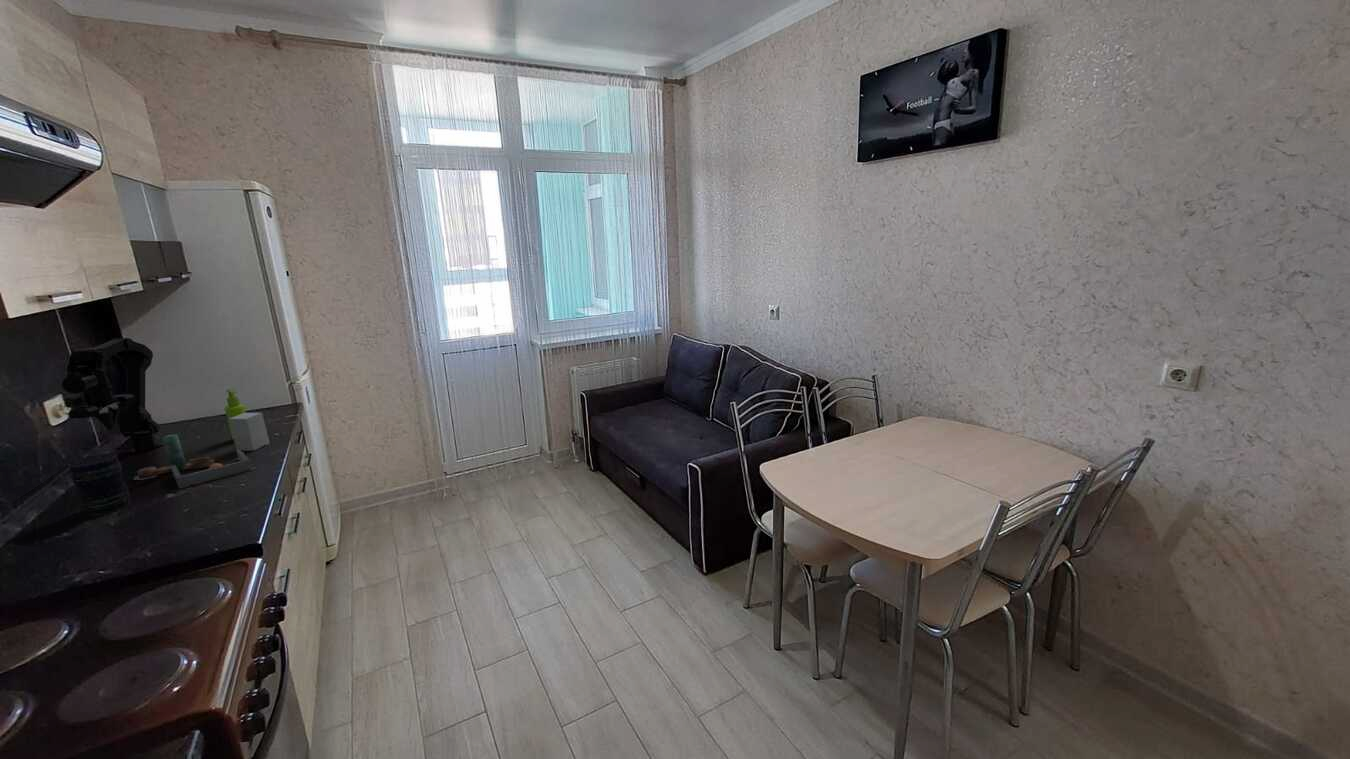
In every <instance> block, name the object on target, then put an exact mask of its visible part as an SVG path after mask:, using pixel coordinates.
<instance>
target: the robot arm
mask: <svg viewBox="0 0 1350 759" xmlns="http://www.w3.org/2000/svg"><path fill="white" fill-rule="evenodd" d="M112 356H115V357H116V358H118V359H119V360H120V364H121V365H122V366H123V368H124V369H125V370H126V394H116V395H114V394H113V391H114V390H115V386H111V384H110V382H109V379H108V376H107V372H106V371H107V370H108V369H109V367H108V366H106V365H105V364H106V363H108V361H109V358H111V357H112ZM153 357H154V353H153V351H152V350H151V348H150V347H148V346H147V345H145V344H144V343H143V344H142V343H140V342H137V341H134V340H133V339H132V338H130V337H129V338H128V337H120V338H119V337H118V338H112V339H110V340H109V341H107V342H104V343H102V344H99V345H97V346H94V347H91V348H82V349H81V348H79V349H75V350H73V351H72V352H71V353H70V355H69V360H68V365H67V370H66V376H67V377H65V378H64V379H63V380H62V382H61V387H62V389H63V390H64V391H65V392H67V393H68V394H72V395H74V394H75V395H77V394H80V393H81V396H79V397H78V396H77V397H75V396H69V397H66V398H64V399H63V402H64V406H65V407H67V409H68V408H69V409H70V410H69V411H68V412H67V413H68V417H69V419H71V420H72V419H87V418H89V419H90V418H96V419H97V421H99V422H101V424H102V425H103V426H104V427H105V428H106V429H107V430H108V431H112V430H114V429H115V426H116V423H118V426H117V427H118V429H119V431H120V432H121V434H122V436H123V437H124V438H127V437H130V439H131V444H132V448H133V449H132V450H130V453H131V452H133V453H138V452H137V451H148V452H151V451H153V450H152V449H154V450H155V448H156V447H158V446H160V444H161V445H162V446H163V443H158V440H157V437H156V433H157V434H158V433H159V432H160V424H159V423H157V422H156V421H155V420H154V419H152V418H153V417H152V414H151V412H149V411H148V410H147V409H146V371H147V370H148V369H149V367H150V366H151V365H152V362H153ZM122 403H126V408H125V410H123V408H124V406H119V405H118V404H122ZM71 408H72V409H71ZM122 410H123V411H122ZM117 421H118V422H117ZM160 447H161V446H160ZM158 448H159V447H158ZM156 449H157V448H156ZM150 450H151V451H150Z"/></svg>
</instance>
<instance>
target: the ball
mask: <svg viewBox="0 0 1350 759" xmlns="http://www.w3.org/2000/svg"><path fill="white" fill-rule="evenodd" d="M219 466H223V464H222V463H218V462H217V463H215V462H214V464H212V465H211V466H208V469H211V468H215V467H219Z"/></svg>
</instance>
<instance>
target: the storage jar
mask: <svg viewBox="0 0 1350 759" xmlns="http://www.w3.org/2000/svg"><path fill="white" fill-rule="evenodd" d="M119 461H120V460H119V459H118V454H117V453H115V452H113V453H112V452H111V453H108V452H107V453H100V454H94V455H90V456H86V457H82V458H78V459H76V460H73V461H71V462H70V463H68V465H67V466H68V470H69V472H70V477H71V479H72V482H73V484H74V485H75V486H76V490H77V492H78V500H79V504H80V506H81V507H82V510H83V514H84V515H85V516H100V515H105V514H108V513H109V514H110V513H113V512H116V511H120V509H124V508H125V506H126V507H128V506H129V505H131V504H132V499H131V498H130V491H129V489H128V485H127V483H125V480H124V478H123V474H122V473H123V469H122V466H121V462H119ZM128 504H129V505H128Z"/></svg>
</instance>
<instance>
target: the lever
mask: <svg viewBox="0 0 1350 759" xmlns="http://www.w3.org/2000/svg"><path fill="white" fill-rule="evenodd" d="M162 438H163V443H164V445H165V449H166V454H167V457H168V459H169V463H170V466H163V467H158V468H157V467H156V466H148V467H144V468H141V469H138V470H137V471H136V472H137V476H138V477H139V478H146V477H150V476H153V475H156V474H162V473H163V474H166V473H167V474H168V473H172V470H171V466H173V465H176V467H177V469H178V471H179V472H182V471H185V470H188V469H191V470H196V469H200V468H201V469H202V468H207V467H208V468H209V467H210V466H211V465H212V464H215V459H214V458H210V456H204V457H199V458H194V459H193V458H192V459H189V462H187V463H186V461H185V456H184V452H183V450H182V445H181V442H180V439H179V435H178V433H177V434H176V433H174V434H168V435H164V436H163V437H162ZM163 474H162V475H163Z"/></svg>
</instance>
